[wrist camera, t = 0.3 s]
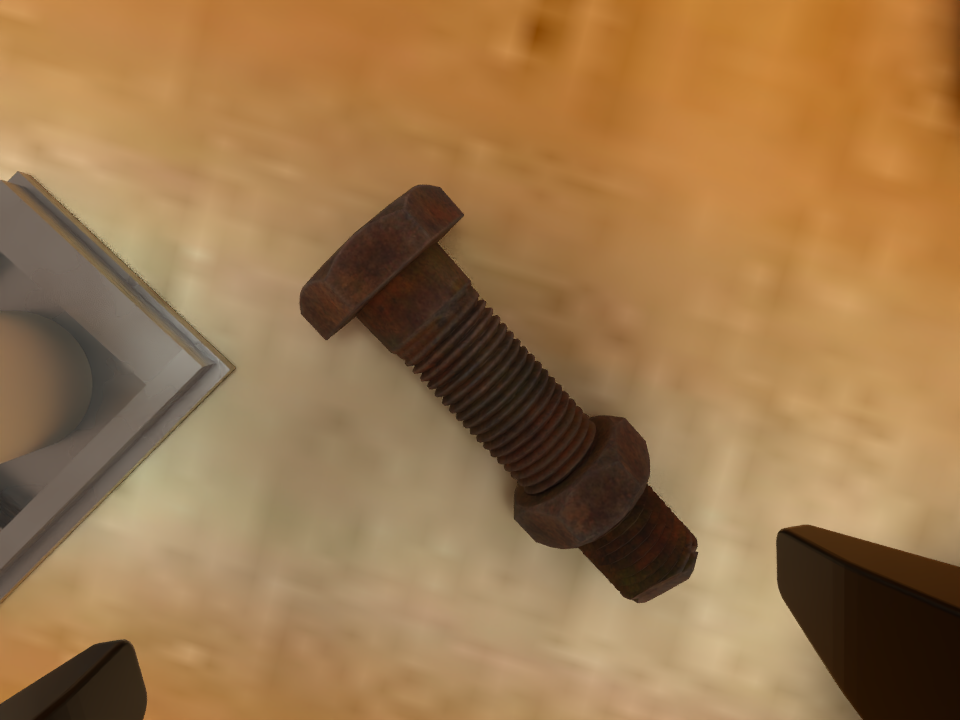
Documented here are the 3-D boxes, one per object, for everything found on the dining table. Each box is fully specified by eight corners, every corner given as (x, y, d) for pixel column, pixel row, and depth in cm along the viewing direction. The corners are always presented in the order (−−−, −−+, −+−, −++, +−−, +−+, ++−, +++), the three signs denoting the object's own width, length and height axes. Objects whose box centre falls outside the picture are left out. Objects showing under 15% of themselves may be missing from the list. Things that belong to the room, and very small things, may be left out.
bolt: (614, 543, 26) (354, 261, 23) (724, 489, 23) (446, 168, 21) (596, 665, 21) (264, 322, 18) (735, 613, 18) (371, 208, 16)
